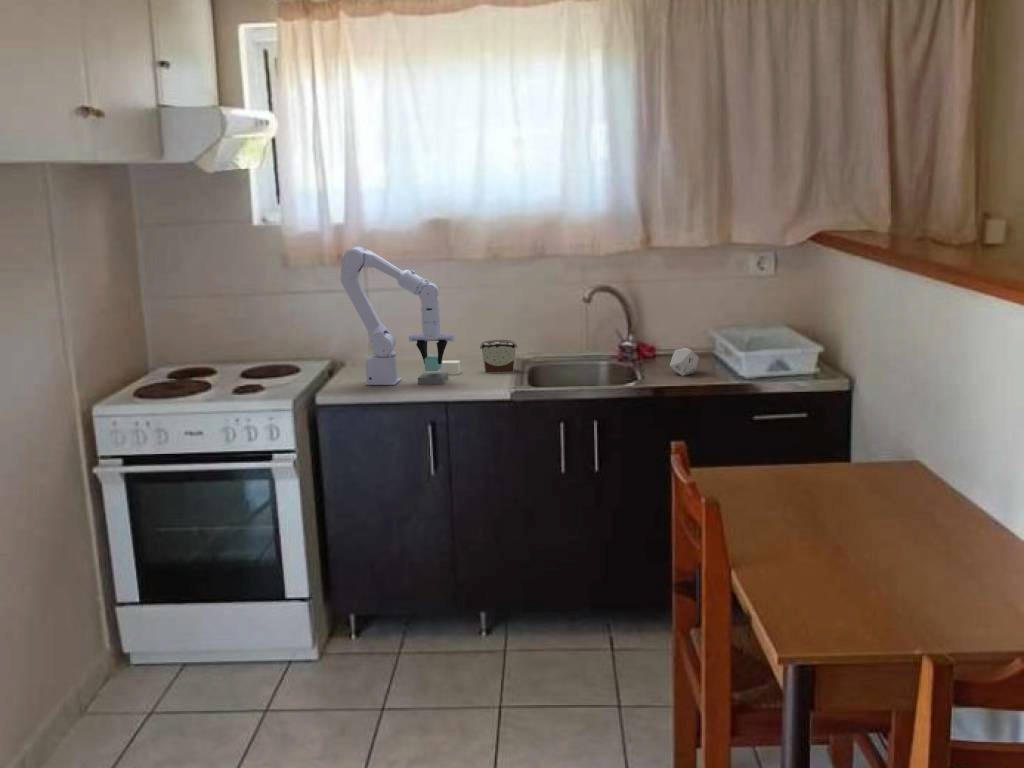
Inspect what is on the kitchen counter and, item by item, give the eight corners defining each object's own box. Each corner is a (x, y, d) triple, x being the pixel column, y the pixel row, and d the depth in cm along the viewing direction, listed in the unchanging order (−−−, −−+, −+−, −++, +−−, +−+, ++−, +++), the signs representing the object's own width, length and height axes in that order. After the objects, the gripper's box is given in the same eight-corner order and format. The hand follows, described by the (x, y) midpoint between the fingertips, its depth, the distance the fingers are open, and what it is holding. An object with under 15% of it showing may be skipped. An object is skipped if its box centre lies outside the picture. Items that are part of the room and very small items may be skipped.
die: (666, 378, 321) (681, 356, 315) (663, 359, 328) (678, 337, 322) (690, 385, 323) (705, 363, 317) (687, 366, 330) (702, 345, 324)
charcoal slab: (418, 385, 322) (417, 377, 321) (424, 379, 329) (423, 372, 329) (442, 385, 320) (442, 378, 320) (448, 379, 328) (447, 372, 328)
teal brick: (425, 371, 321) (424, 358, 321) (429, 367, 327) (428, 354, 326) (437, 371, 321) (436, 358, 320) (441, 367, 327) (441, 354, 326)
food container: (519, 368, 339) (518, 338, 337) (518, 372, 334) (517, 342, 331) (483, 368, 341) (481, 339, 338) (480, 372, 335) (479, 343, 332)
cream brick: (440, 374, 334) (440, 363, 333) (443, 372, 338) (442, 360, 337) (458, 374, 334) (458, 363, 333) (460, 372, 337) (460, 360, 337)
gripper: (405, 323, 318) (407, 366, 321) (450, 323, 315) (452, 366, 318) (410, 319, 324) (413, 361, 328) (455, 319, 322) (457, 361, 325)
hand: (433, 363), depth 323 cm, fingers closed on teal brick, 4 cm apart
